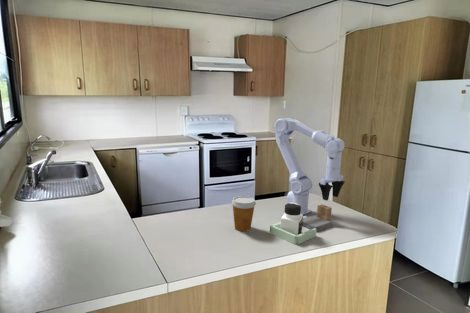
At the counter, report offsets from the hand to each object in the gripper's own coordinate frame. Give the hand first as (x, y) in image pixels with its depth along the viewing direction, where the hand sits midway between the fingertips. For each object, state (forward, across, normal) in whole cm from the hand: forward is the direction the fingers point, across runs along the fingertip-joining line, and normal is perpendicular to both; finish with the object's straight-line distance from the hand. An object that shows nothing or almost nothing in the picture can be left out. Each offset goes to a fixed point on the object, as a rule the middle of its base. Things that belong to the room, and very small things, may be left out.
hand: (330, 198), depth 139 cm
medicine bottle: (+10, -25, +1) cm, 27 cm away
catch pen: (+10, -24, 0) cm, 26 cm away
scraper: (+10, -9, 0) cm, 13 cm away
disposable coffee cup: (+10, -36, +16) cm, 41 cm away
